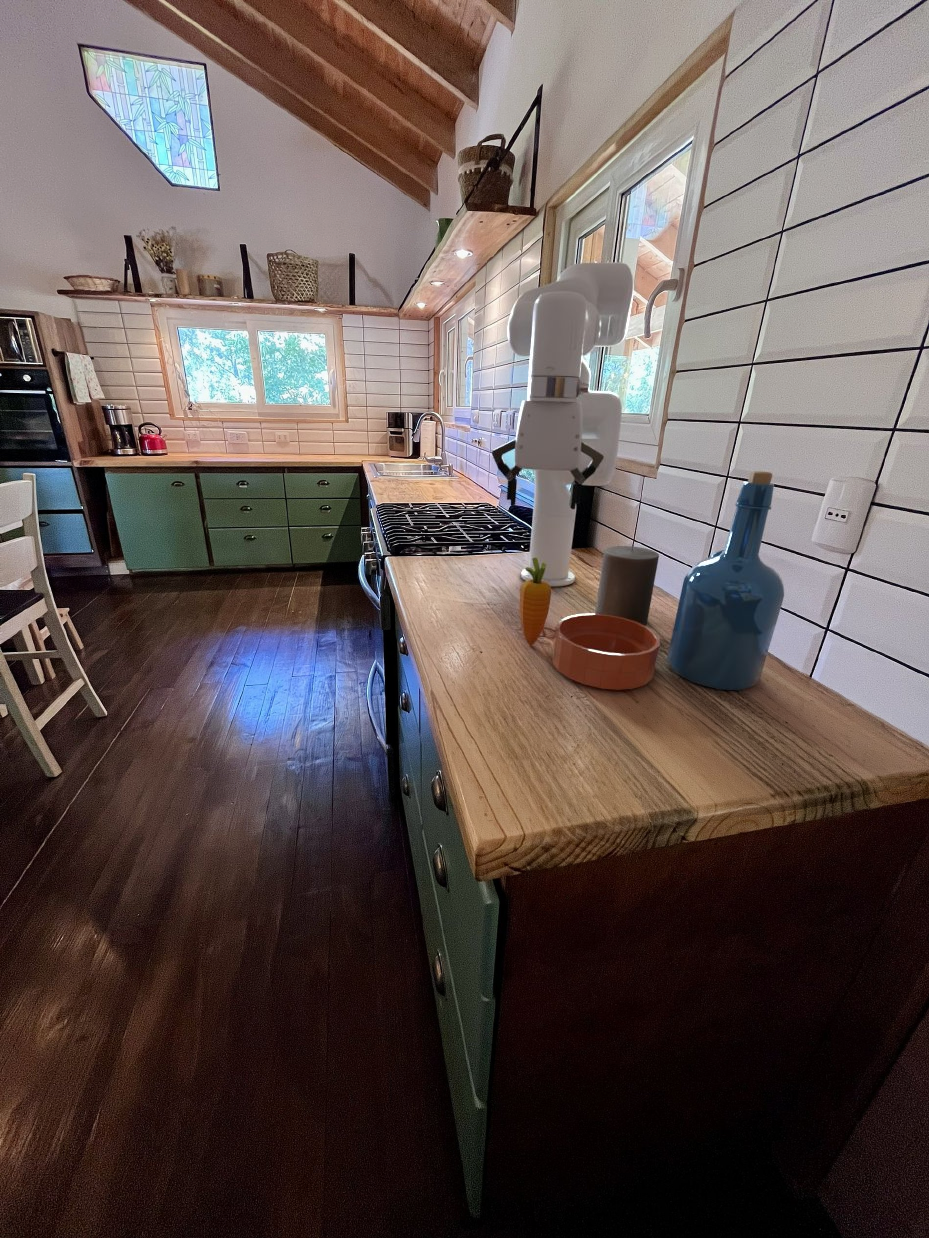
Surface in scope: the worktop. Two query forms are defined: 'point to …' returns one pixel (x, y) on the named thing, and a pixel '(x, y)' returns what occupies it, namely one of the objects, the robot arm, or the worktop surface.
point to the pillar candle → (627, 582)
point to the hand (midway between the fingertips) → (542, 506)
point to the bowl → (605, 651)
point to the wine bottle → (730, 602)
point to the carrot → (534, 603)
